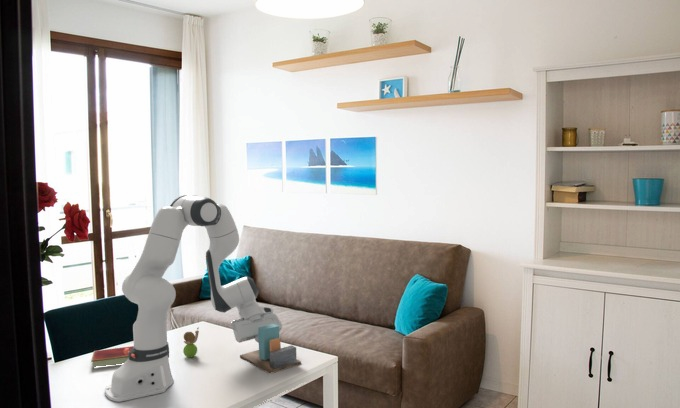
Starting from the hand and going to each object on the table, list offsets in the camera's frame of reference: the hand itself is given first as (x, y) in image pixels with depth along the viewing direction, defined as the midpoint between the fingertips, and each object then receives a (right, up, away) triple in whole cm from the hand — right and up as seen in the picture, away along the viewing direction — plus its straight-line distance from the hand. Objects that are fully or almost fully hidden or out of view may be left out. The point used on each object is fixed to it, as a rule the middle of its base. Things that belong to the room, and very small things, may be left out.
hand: (265, 345), depth 210 cm
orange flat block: (+6, -4, -3) cm, 8 cm away
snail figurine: (-30, -6, +4) cm, 31 cm away
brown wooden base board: (+2, -5, -2) cm, 6 cm away
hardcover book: (-57, -7, +1) cm, 58 cm away
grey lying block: (+8, -6, -9) cm, 13 cm away
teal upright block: (+2, -4, -2) cm, 5 cm away
